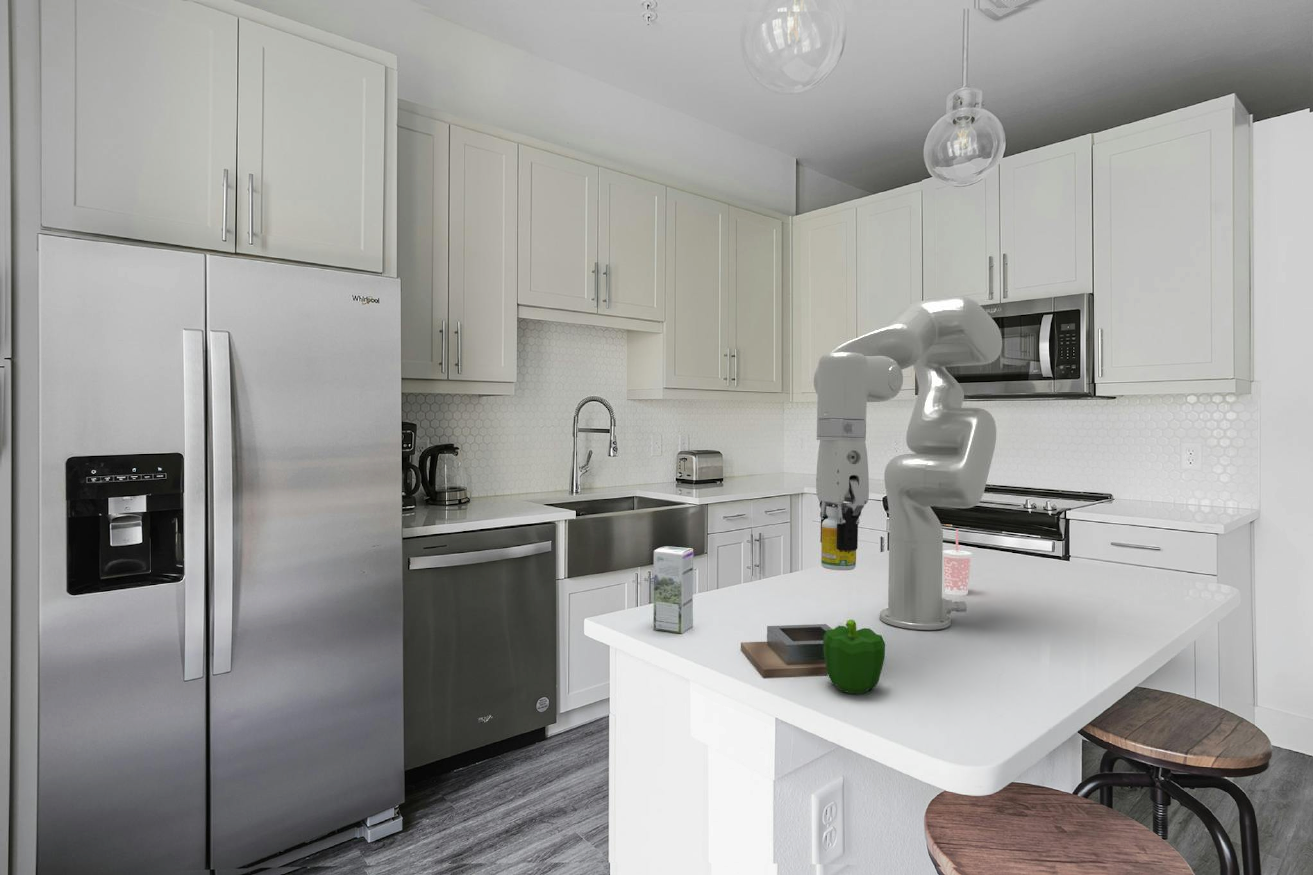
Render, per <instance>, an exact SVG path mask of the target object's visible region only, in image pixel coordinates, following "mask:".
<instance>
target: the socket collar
mask: <svg viewBox="0 0 1313 875" xmlns="http://www.w3.org/2000/svg"><path fill="white" fill-rule="evenodd" d="M833 629H834V628H832V627H830V626H829V625H828V624H827V623H820V624H818V623H816V624H814V623H813V624H788V625H786V624H785V625H767V627H766V641H767V645H768V646H769V647H770V648H771V649H772V650H773V651H774V652H775V653H776V654H777V655H778V656H779V657H780V659H781V660H782V661H783V662H784V663H785V664H786V665H797V664H821V663H825V657H824V652H823V637H824V635H825V632H826V630H833Z"/></svg>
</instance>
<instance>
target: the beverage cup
mask: <svg viewBox="0 0 1313 875" xmlns="http://www.w3.org/2000/svg"><path fill="white" fill-rule="evenodd" d="M972 555H973V553H972V552H971V551H968V550H967V551H966V550H960V549H959V529H955V549H945V550H943V569H944V571H943V572H944V590H945V591H944V592H945V593H946V594H949V595H955V596H956V595H957V596H965V595H968V593H969V580H970V568H971V567H970V566H971V558H972Z"/></svg>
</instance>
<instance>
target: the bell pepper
mask: <svg viewBox="0 0 1313 875" xmlns="http://www.w3.org/2000/svg"><path fill="white" fill-rule="evenodd" d="M832 629H833V630H826V632H825V635H824V637H823V652H824V657H825V663H826V667H827V672H828V675H827V676H828V678H829V681H830V682H831V683H832V685H833V686H836V688H837V689H839V690H840V691H841V692H846V693H848V694H857V695H858V694H859V695H860V694H862V693H866V692H868V690H872V689H875V687H876V686H877V684H878V683H879V680H880V677H881V674H882V670H883V667H884V663H885V658H886V657H885V655H886V642H885V640H884V637H883V636H882V634H877V633H876V632H875V631H874V630H872V629H871V628H870V627H869V628H867V627H864V628H860V629H857V622H856V621H855V619H848V620H847V621H846V623H845V626H844V625H838V626H837V627H835V628H832Z"/></svg>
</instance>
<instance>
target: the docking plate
mask: <svg viewBox="0 0 1313 875" xmlns="http://www.w3.org/2000/svg"><path fill="white" fill-rule="evenodd" d="M740 651H741V652H742V653H743V654H744V656H745V657H746V659H747V660H749V662H750V663H751V665H753V666H754V669H755V670H756V671H757V672H758V673H759V674H760V675H761V677H762V678H764V679H765V678H785V677H786V678H787V677H788V678H789V677H808V676H828V672H827V667H826V663H821V664H797V665H786V664H785V663H784V662H783V661H782V660H781V659H780V657H779V656H778V655H777V654H776V653H775V652H774V651H773V650H772V649H771V648H770V647H769V646H768V645H767V640H765V641H749V642H747V641H745V642H744V641H742V642H740Z"/></svg>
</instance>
